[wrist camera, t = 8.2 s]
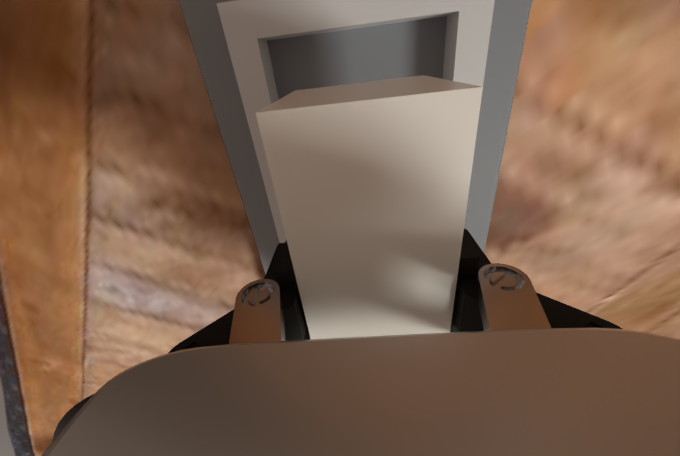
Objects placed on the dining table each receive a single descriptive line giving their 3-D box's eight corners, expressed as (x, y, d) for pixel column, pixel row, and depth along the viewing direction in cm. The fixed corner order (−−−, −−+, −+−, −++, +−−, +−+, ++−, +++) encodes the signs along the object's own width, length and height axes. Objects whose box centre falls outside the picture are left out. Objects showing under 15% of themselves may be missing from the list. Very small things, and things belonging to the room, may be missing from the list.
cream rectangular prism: (295, 90, 10) (255, 112, 6) (423, 74, 10) (482, 86, 5) (334, 321, 16) (329, 416, 12) (414, 317, 16) (439, 413, 11)
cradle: (178, -35, 12) (139, -56, 9) (535, -93, 10) (583, -132, 8) (285, 317, 22) (278, 344, 20) (466, 307, 21) (480, 335, 19)
